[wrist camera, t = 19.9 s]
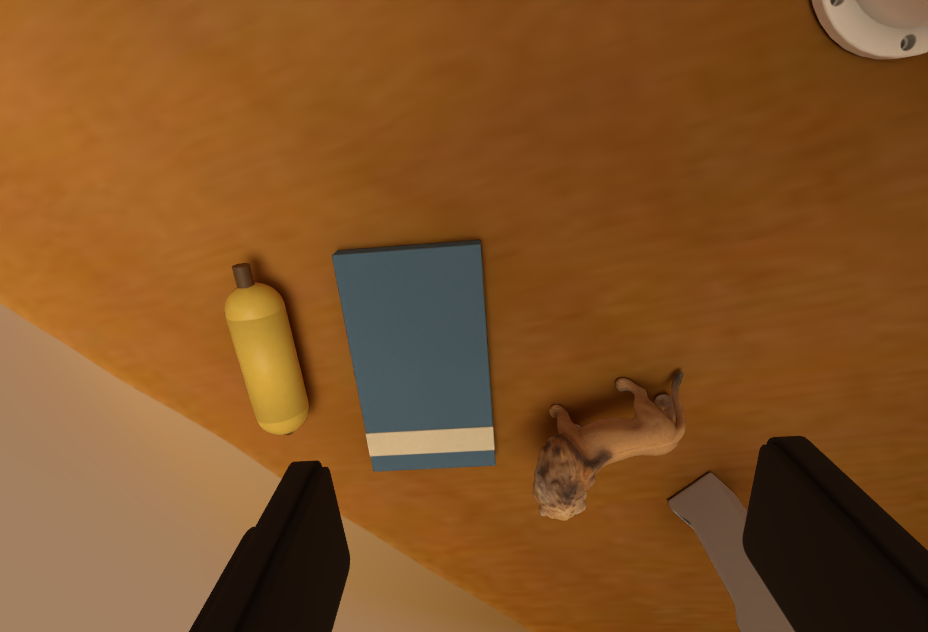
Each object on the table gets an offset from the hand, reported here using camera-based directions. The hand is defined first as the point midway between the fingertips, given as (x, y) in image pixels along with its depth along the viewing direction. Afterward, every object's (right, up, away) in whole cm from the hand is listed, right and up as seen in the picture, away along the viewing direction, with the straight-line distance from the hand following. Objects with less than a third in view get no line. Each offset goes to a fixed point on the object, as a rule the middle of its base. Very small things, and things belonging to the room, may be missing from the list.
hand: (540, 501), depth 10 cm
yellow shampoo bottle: (-16, +1, +28) cm, 32 cm away
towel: (-5, 0, +28) cm, 29 cm away
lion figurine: (+10, -4, +30) cm, 32 cm away
